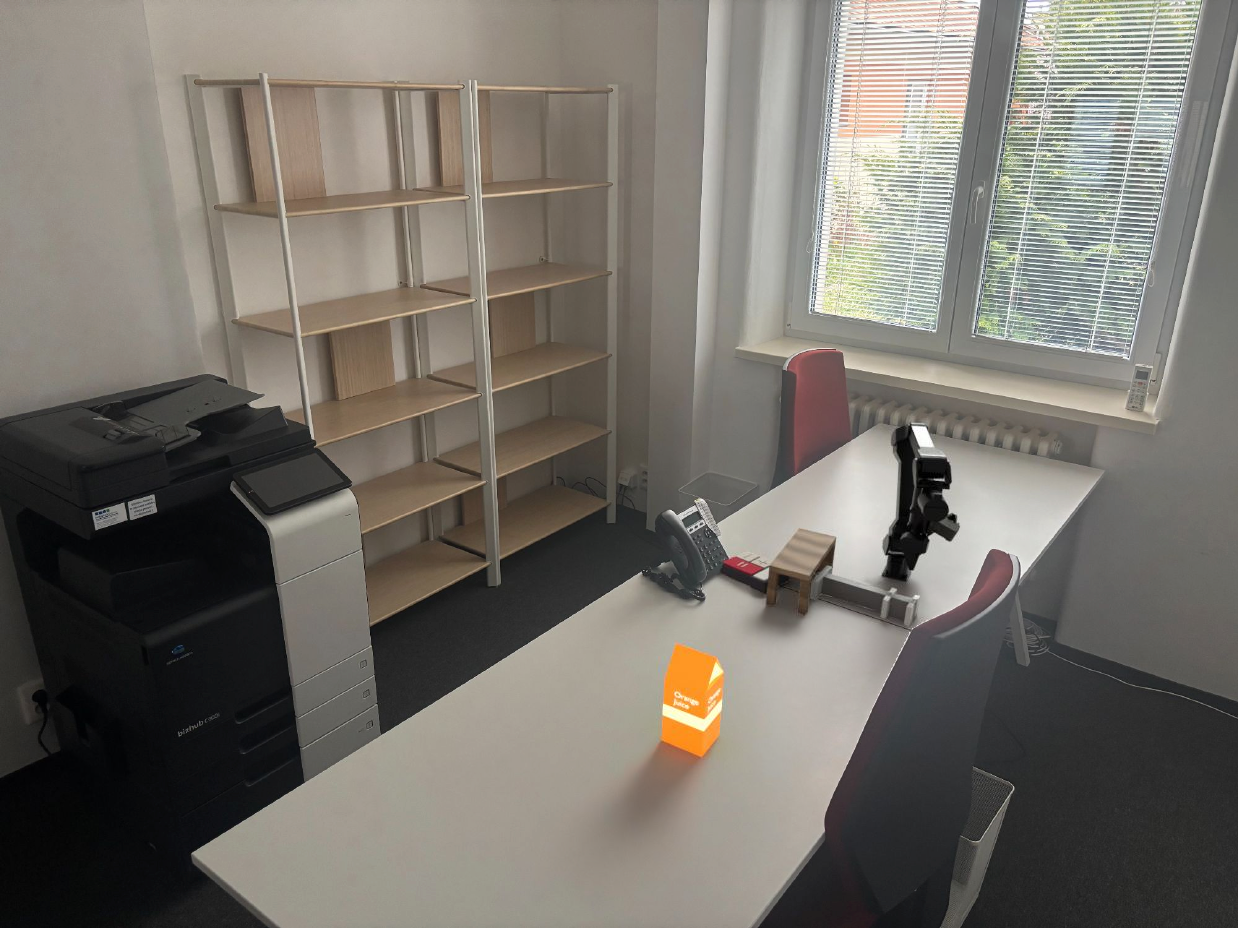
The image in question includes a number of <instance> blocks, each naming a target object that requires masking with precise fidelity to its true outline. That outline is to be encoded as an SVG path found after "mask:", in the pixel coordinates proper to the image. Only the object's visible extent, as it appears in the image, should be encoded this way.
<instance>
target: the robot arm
mask: <svg viewBox="0 0 1238 928" xmlns="http://www.w3.org/2000/svg"><path fill="white" fill-rule="evenodd" d="M890 446H891V447H892V454H893V456H894V458H895V459H896V461H897V464H898V465H897V483H896V484H897V485H896V486H897V487H896V505H895V518H894V519H893V521H892V523H891V524H890V525H889V527H888V533H887V534H886V535H885V537H884V538H883V539H882V546H881V547H882V551H883V554H884V556H886V557H887V558H886V565H885V567H884V569H883V570H882V572H881V576H884V577H888V578H891V579H896V580H899V581H900V580H901V581H904V582H907V581H908V579H909V577H910V575H911V573H912V571H915V568H916V565H917V563H918V560H919V557H920V556H921V555H925V554H926V553H927V551H928V550H929V546H930V539H929V536H932V535H933V534H934V533H935V534H936V535H938V536H940V537H941V538H944V540H945V541H947V542H952V541H953V540H954V538H955V537H956V536H957V534H958V532H959V530H960V528H961V525H960V522H958V515H957V514H956V513H954V512H951V513H949V512H950V509H949V505H948V503H947V501H946V500H945V498H944V496H943V491H944V490H950V489H951V485H952V482H953V479H952V478H953V476H952V466H951V464H950V460H949V459H948V457H947V456H946V454H945V453H944V451H941V450H939V449H937V448H936V446H935V445H934V442H933V440H932V437H931V435H930V432H929V425H928V423H925V422H912V421H910V422H907V423H906V424H905V425H903V426H900V427H897V428H894V431H892V434H891V438H890Z"/></svg>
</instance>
